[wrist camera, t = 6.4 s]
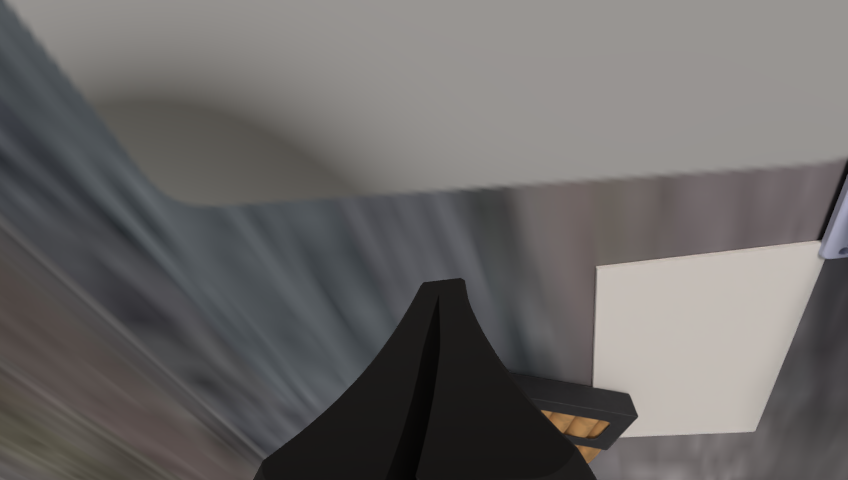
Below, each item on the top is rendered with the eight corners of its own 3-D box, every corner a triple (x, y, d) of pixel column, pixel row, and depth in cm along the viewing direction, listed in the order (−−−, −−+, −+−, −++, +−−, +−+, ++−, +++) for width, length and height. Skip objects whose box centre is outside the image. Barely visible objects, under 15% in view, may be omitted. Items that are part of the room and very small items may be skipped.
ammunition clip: (491, 369, 28) (462, 446, 35) (492, 391, 26) (462, 467, 33) (630, 393, 28) (573, 466, 34) (639, 417, 26) (578, 488, 33)
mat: (827, 239, 21) (832, 241, 20) (752, 428, 29) (754, 431, 29) (595, 266, 23) (597, 269, 23) (589, 435, 32) (591, 438, 31)
